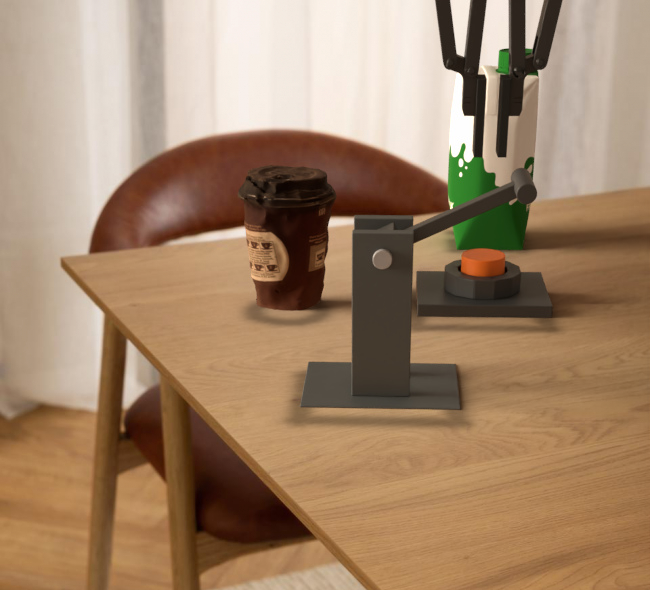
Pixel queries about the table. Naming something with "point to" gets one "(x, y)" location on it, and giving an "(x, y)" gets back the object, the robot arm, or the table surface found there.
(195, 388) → the table surface
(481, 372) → the table surface
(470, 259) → the button
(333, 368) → the upright post stand
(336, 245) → the table surface
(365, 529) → the table surface
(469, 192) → the milk carton
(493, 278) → the control block
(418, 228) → the switch lever
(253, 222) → the coffee cup
